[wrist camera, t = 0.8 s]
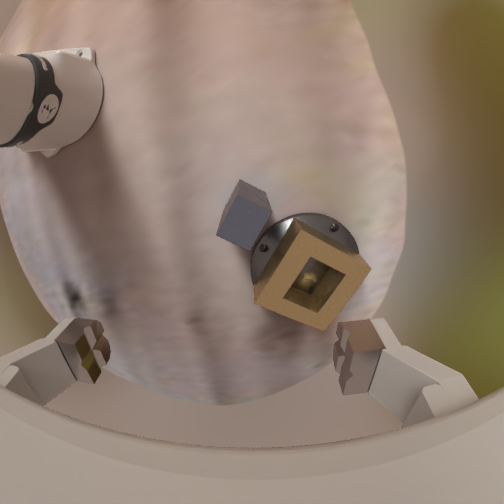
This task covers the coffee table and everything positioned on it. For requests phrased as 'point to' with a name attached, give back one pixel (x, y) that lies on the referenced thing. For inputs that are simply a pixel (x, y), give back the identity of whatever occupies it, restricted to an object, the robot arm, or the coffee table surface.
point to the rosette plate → (307, 268)
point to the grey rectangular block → (244, 215)
